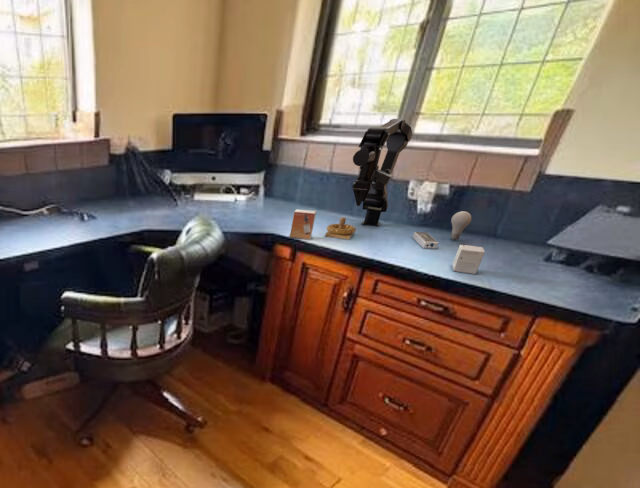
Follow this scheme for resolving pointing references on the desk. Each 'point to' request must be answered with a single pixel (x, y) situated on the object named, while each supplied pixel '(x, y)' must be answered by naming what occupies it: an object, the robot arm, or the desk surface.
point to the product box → (468, 259)
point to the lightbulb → (459, 223)
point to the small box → (302, 224)
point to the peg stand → (341, 226)
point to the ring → (346, 231)
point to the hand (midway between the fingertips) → (360, 203)
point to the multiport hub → (425, 240)
